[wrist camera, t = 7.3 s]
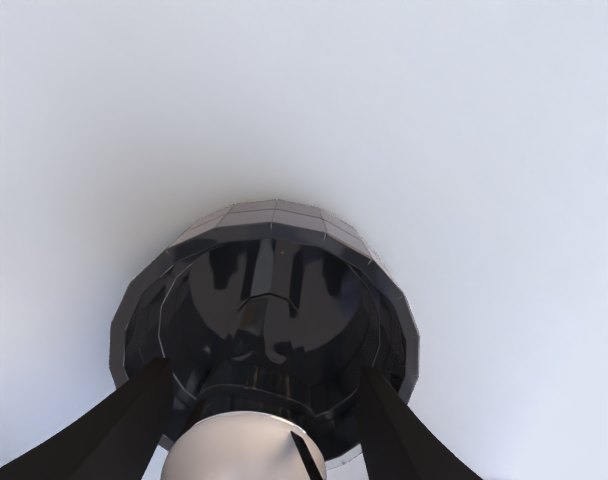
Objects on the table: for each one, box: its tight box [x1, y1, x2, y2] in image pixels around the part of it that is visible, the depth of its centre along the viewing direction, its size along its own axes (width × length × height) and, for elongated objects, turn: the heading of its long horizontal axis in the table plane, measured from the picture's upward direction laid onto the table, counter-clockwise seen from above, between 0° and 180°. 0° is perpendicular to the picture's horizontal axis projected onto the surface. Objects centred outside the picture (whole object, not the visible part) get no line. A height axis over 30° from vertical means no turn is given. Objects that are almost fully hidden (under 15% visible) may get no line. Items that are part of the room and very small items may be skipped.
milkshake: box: [160, 294, 326, 480], centre depth 12 cm, size 4×5×10 cm
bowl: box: [109, 199, 420, 470], centre depth 15 cm, size 12×12×4 cm
